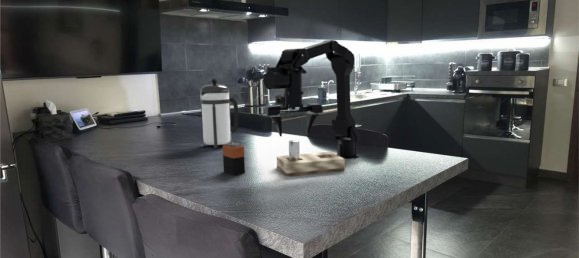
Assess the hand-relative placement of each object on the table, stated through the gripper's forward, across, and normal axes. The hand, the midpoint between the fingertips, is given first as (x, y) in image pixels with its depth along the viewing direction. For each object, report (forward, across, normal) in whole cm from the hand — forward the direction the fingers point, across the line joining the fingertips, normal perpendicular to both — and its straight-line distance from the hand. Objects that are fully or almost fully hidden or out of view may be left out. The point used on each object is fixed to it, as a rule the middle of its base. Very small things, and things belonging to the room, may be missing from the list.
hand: (294, 135), depth 131 cm
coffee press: (+12, +19, -54) cm, 58 cm away
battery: (+12, +20, -5) cm, 24 cm away
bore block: (+12, -5, 0) cm, 13 cm away
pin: (+11, 0, 0) cm, 11 cm away
